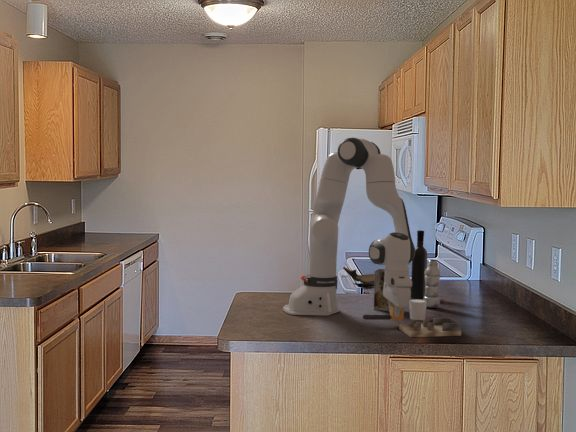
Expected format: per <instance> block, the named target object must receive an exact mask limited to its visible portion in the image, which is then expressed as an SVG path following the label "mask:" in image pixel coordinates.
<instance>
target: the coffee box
mask: <svg viewBox="0 0 576 432" xmlns="http://www.w3.org/2000/svg"><path fill="white" fill-rule="evenodd" d="M374 274H375V285H374V287H373V289H374V292H373V295H374V296H373V310H374V311H383V312H389V303H388V301H389V300H388V299H386V298H385V297H384V296H383V287H384V276H385V268H378V269H377V270H374Z"/></svg>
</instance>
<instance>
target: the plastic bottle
mask: <svg viewBox="0 0 576 432" xmlns="http://www.w3.org/2000/svg"><path fill="white" fill-rule="evenodd" d="M438 264H439V263H438V259H427V268H426V269H425V272H424V276H425V295H424V298H423V299H422V300H425V301H427V306H426V308H430V309H436V308H438V307H439V305H440V303H441V301H440V294H439V290H440V289H439V286H440V279H441V270H440V269H439V267H438Z"/></svg>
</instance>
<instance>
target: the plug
mask: <svg viewBox="0 0 576 432" xmlns="http://www.w3.org/2000/svg"><path fill="white" fill-rule="evenodd" d="M394 311H395V305H390V312H389V314H363V315H362V319H363V320H365V321H366V320H370V321H371V320H373V321H374V320H377V321H382V320H383V321H384V320H385V321H387V320H388V321H389V320H391V321H392V322H404V317H405V308H401V311H400V316H399V317H395V316H394Z"/></svg>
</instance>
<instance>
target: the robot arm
mask: <svg viewBox="0 0 576 432" xmlns="http://www.w3.org/2000/svg"><path fill="white" fill-rule="evenodd" d="M337 147H338V148H337V151H335V152H332V153H330V154H328V156H327V158H326V160H325V162H324V165H323V168H322V171H321V175H320V180H319V183H318V184H319V185H318V188H317V192H316V198H315V202H314V205H313V209H312V214H311V219H310V222H309V250H308V251H309V252H308V253H309V254H308V255H309V256H308V275H305V274H302V275H300V279H301V281H303V284H302V285H301V286H299V288H297V289H296V290H294V291H293V292H292V293H291V294H290V295H289V300H288V304H285V305H284V306H283V308H282V310H283V311H284V313H286V314H288V315H292V316H325V317H326V316H330V315H333V314H337V313H338V312H340V308H339V302H338V297H337V290H338V275H337V261H338V244H339V243H338V242H339V226H338V225H339V221H340V217H341V214H342V209H343V205H344V202H345V198H346V194H347V190H348V184H349V181H350V175H351V174H352V171H354V170H355V169H356V170H363V171H364V175H365V192H366V196H367V199H368V201H369V203H371V204H372V205H373V206H375V207H377V208H379V209H381V210H383V211H385V212H386V213H388V214H389V215H390V216H391V219H392V222H393V227H394V232H390V233H388V234H387V236H385V237H383V238H379V239H376V240H375V239H374V240H373V241H372V242H371V243H370V245H369V247H368V257H369V259H370V261H371V262H372V264H374V265H379V266H383V265H384V266H385V267H384V269H385V276H384V287H383V296H384V297H385V298H386V299H388V300H389V301H388V303H389V311H388V312H389V313H390V305H395V311H394V316H395V317H399V316H400V311H401V308H404V309H407V308H409V300H411V287H412V280H411V277H410V267H409V264H410V263H412V260H413V258H414V256H415V248H416V247H415V244H414V242H413V239H412V236H411V235H412V234H411V230H410V229H411V228H410V225H409V219H408V215H407V210H406V205H405V202H404V200H403V198H401V197H400V196H399V193H398V190H397V187H396V177H395V176H396V175H395V170H394V164H393V161H392V159H391V157H390V156H388V155H386V154H384V153H381V149H380V148H379V146H378V145H377V144H375V143H374V142H373V141H369V140H367V139H365V138H357V137H347V138H345V139H343V140H342V141H341V142H340V143H339V145H338V146H337Z"/></svg>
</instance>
